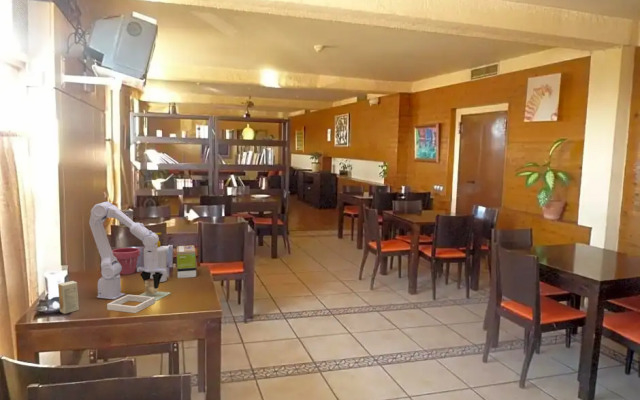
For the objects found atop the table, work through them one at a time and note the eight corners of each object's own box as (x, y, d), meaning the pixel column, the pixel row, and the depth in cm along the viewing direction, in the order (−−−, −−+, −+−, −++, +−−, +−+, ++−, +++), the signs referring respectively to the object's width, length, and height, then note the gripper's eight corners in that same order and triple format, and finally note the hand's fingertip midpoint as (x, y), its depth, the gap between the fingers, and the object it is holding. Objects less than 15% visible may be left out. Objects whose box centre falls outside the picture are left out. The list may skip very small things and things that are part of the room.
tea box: (176, 271, 265) (176, 245, 263) (195, 270, 268) (194, 244, 266) (177, 278, 251) (176, 251, 249) (196, 277, 254) (196, 250, 252)
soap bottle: (167, 281, 245) (166, 233, 242) (151, 284, 238) (150, 235, 235) (159, 277, 251) (158, 231, 248) (143, 281, 244) (142, 233, 241)
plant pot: (135, 268, 270) (134, 246, 269) (143, 273, 259) (143, 250, 258) (109, 271, 261) (108, 249, 260) (116, 277, 250) (116, 253, 249)
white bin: (107, 309, 200) (107, 304, 200) (128, 299, 214) (128, 294, 214) (135, 313, 197) (135, 307, 197) (155, 302, 210) (155, 297, 210)
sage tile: (133, 298, 216) (132, 297, 216) (148, 291, 227) (148, 290, 227) (155, 301, 213) (155, 300, 213) (170, 293, 224) (170, 292, 224)
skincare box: (74, 308, 202) (73, 280, 201) (79, 310, 199) (78, 282, 198) (58, 311, 197) (57, 283, 196) (63, 314, 194) (62, 285, 193)
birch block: (145, 293, 218) (144, 280, 217) (150, 290, 222) (150, 278, 221) (152, 294, 217) (152, 281, 216) (157, 291, 221) (157, 278, 220)
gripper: (132, 259, 216) (133, 288, 217) (160, 262, 212) (160, 291, 214) (141, 256, 223) (142, 284, 224) (168, 258, 219) (169, 287, 221)
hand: (152, 287), depth 220 cm, fingers closed on birch block, 4 cm apart
